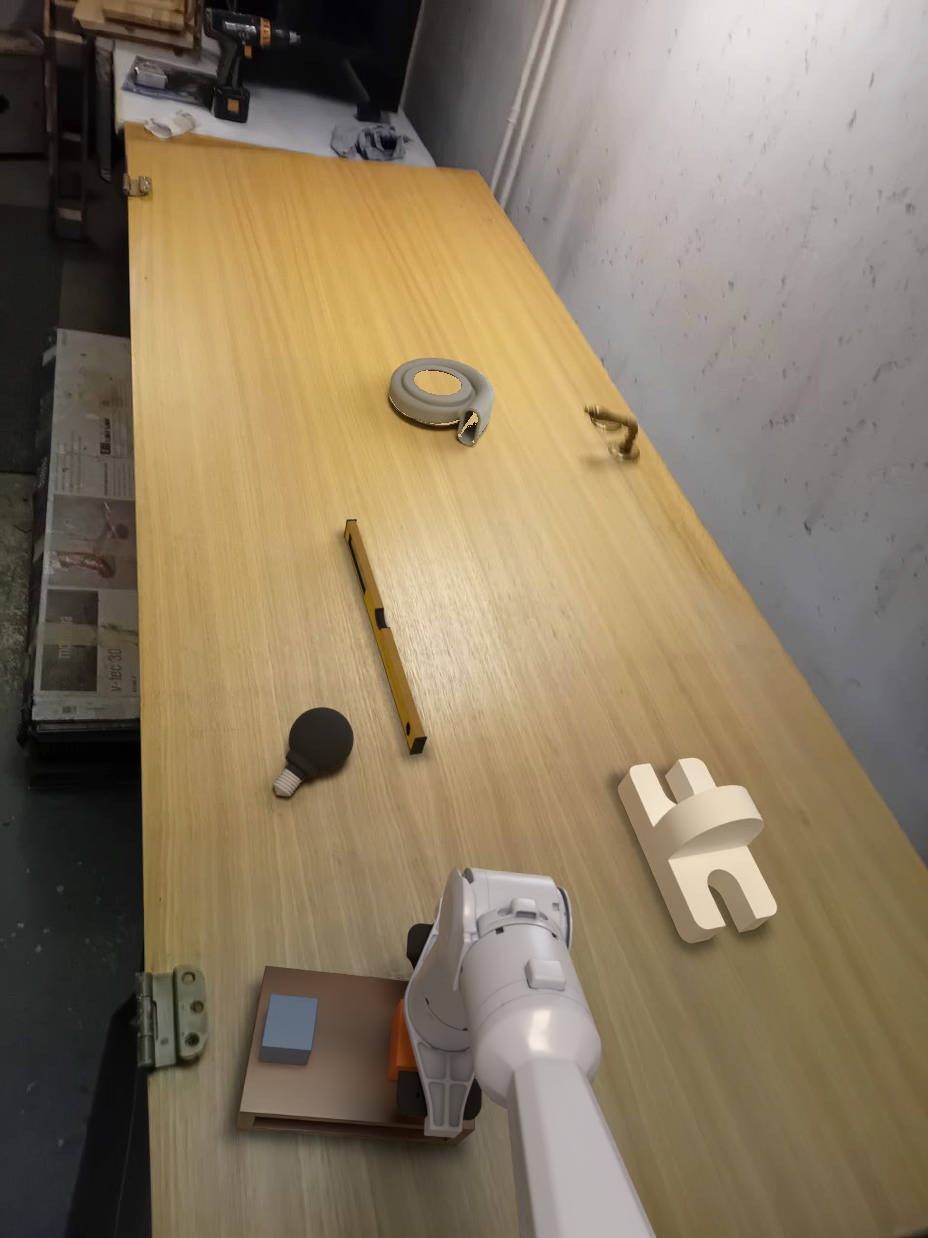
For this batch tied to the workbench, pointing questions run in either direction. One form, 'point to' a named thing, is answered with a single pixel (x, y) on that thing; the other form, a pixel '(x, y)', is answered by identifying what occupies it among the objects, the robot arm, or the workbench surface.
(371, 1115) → the shelf
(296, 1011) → the blue box
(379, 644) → the spirit level
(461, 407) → the turbocharger housing
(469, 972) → the robot arm
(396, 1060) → the orange box
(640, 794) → the cream double-notched bracket
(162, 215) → the workbench surface
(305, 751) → the light bulb
